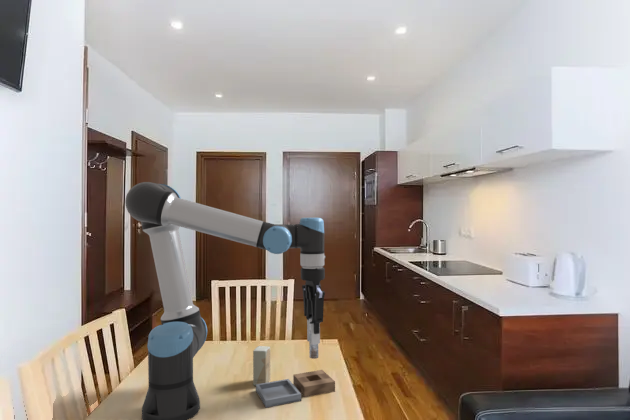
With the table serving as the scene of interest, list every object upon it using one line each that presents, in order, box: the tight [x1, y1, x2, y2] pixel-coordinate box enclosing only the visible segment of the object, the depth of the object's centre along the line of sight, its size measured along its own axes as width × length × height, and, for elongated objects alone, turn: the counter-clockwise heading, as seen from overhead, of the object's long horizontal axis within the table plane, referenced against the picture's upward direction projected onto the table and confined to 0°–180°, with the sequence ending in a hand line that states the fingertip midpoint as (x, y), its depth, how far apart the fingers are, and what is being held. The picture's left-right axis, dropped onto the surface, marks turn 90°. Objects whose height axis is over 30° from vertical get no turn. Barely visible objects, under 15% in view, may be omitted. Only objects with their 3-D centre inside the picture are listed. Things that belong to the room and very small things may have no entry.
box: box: [252, 345, 271, 386], centre depth 132 cm, size 5×4×11 cm
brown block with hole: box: [292, 369, 336, 398], centre depth 128 cm, size 10×10×3 cm
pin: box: [308, 318, 319, 360], centre depth 128 cm, size 3×3×12 cm
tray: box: [255, 378, 302, 408], centre depth 122 cm, size 11×12×2 cm
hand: (313, 341), depth 128 cm, fingers closed on pin, 2 cm apart
